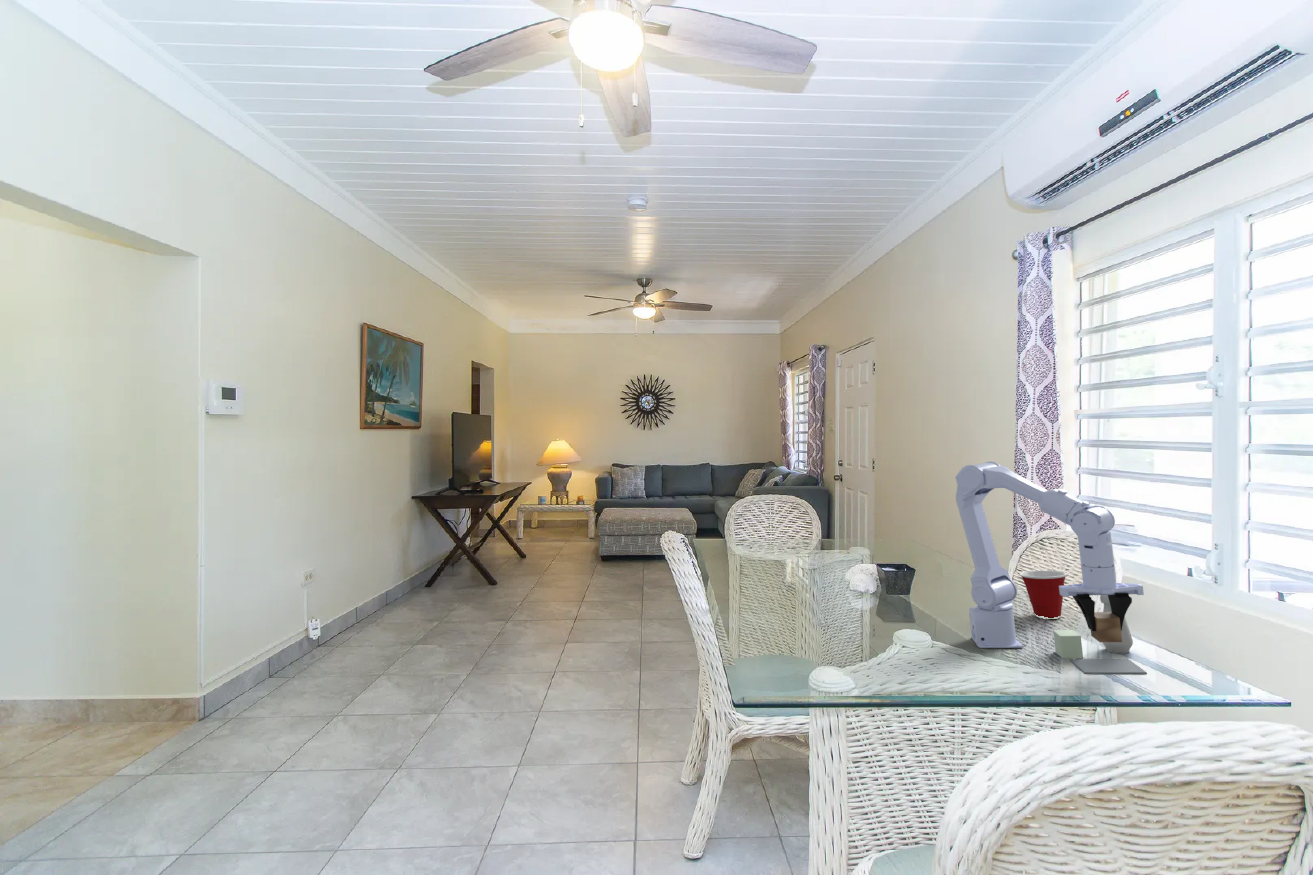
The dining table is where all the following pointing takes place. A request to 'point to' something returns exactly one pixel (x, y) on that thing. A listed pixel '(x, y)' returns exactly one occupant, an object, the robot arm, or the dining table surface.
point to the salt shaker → (1126, 636)
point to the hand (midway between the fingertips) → (1104, 629)
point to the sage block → (1068, 644)
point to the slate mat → (1107, 666)
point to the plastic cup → (1044, 591)
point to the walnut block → (1107, 627)
